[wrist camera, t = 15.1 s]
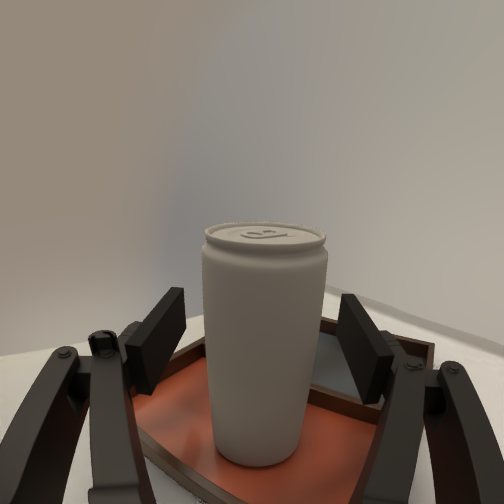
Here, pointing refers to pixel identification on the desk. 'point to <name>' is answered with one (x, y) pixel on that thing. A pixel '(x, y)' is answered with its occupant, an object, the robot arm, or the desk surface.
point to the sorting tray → (280, 474)
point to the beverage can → (261, 334)
